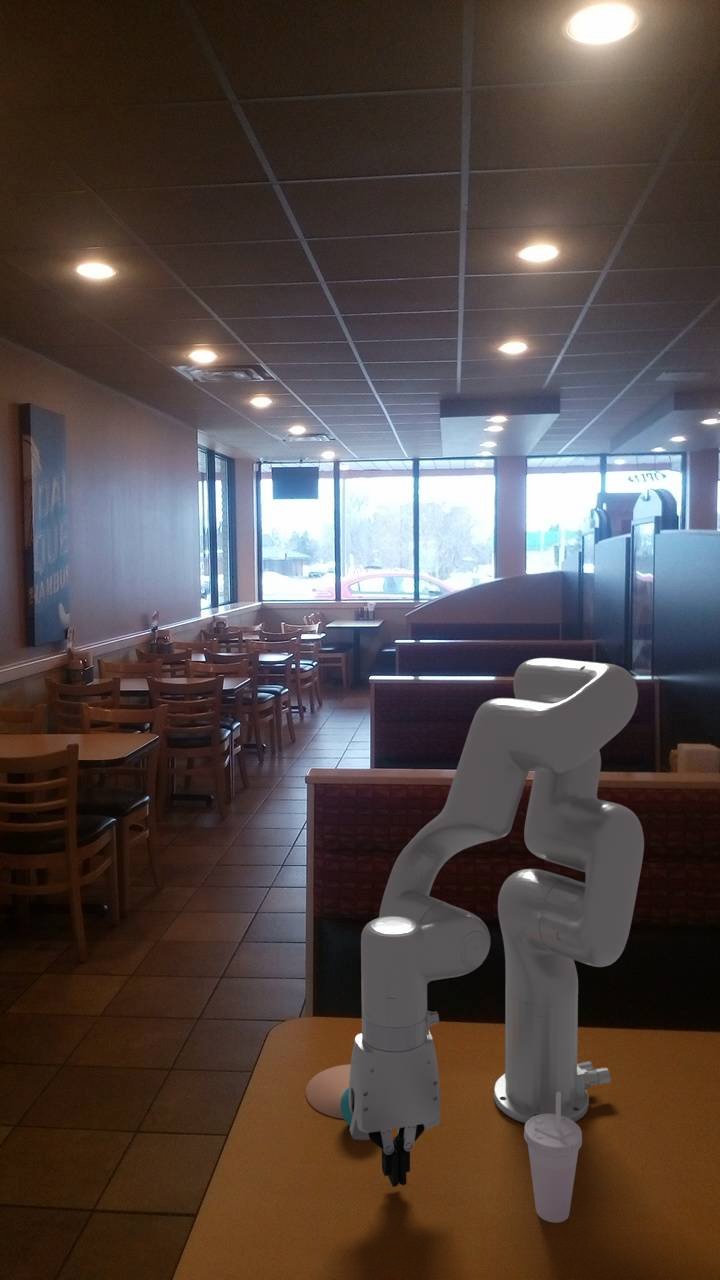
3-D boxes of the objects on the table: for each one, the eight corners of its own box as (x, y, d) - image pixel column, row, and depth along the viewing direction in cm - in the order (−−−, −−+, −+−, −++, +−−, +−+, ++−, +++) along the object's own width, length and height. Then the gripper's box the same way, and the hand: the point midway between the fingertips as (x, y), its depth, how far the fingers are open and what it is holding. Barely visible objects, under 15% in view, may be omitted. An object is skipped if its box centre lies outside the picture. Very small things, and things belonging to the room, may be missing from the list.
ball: (374, 1090, 126) (381, 1072, 122) (382, 1133, 122) (389, 1116, 118) (334, 1094, 125) (340, 1077, 121) (341, 1138, 121) (347, 1121, 117)
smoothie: (582, 1235, 102) (583, 1112, 100) (522, 1227, 103) (523, 1106, 102) (580, 1195, 108) (581, 1079, 107) (524, 1188, 109) (524, 1074, 108)
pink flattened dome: (385, 1060, 137) (385, 1058, 137) (411, 1110, 125) (411, 1109, 125) (298, 1073, 134) (298, 1071, 134) (316, 1126, 122) (316, 1124, 122)
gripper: (445, 1004, 113) (445, 1148, 115) (324, 1020, 109) (326, 1169, 111) (467, 1034, 106) (467, 1187, 107) (338, 1053, 102) (340, 1211, 104)
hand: (395, 1177), depth 109 cm, fingers closed
